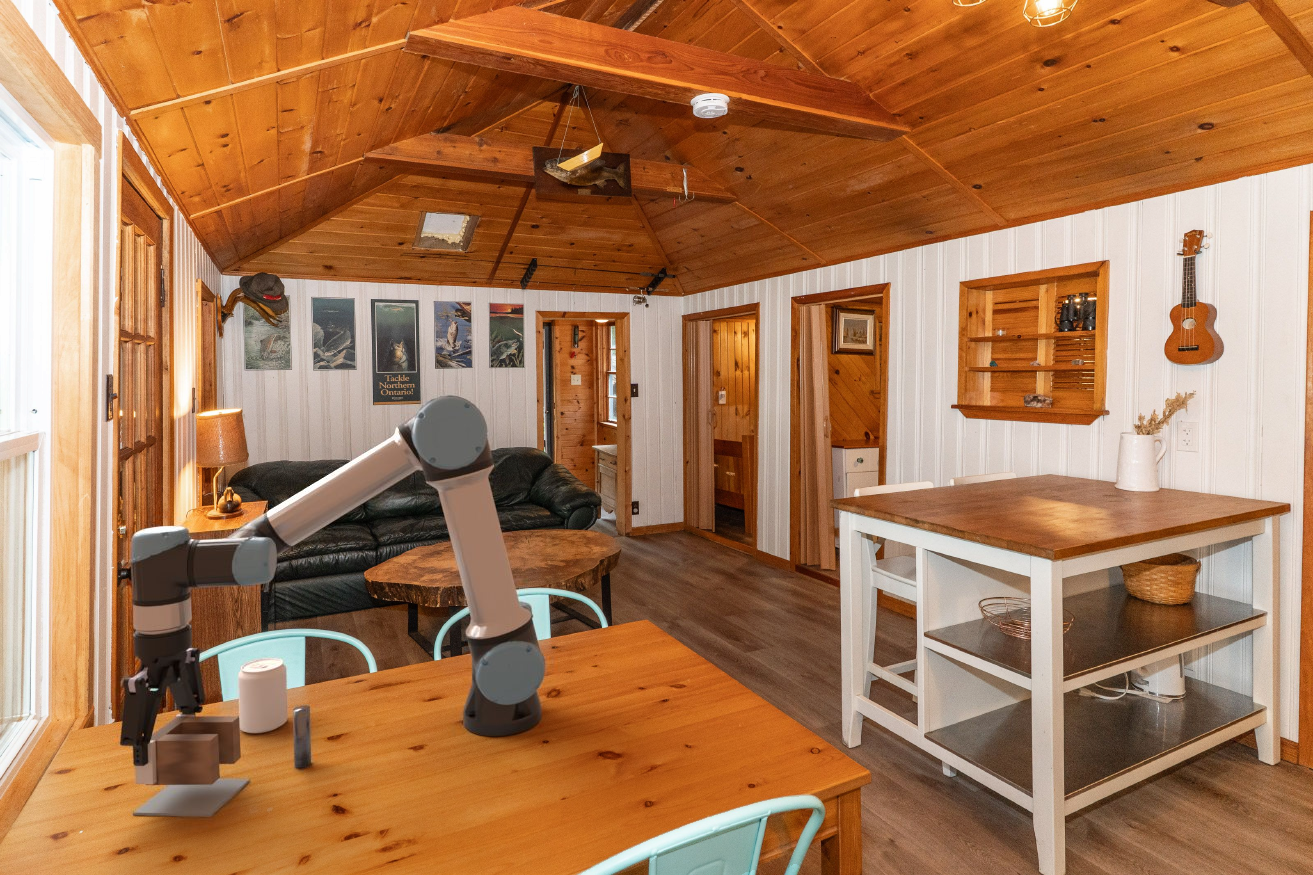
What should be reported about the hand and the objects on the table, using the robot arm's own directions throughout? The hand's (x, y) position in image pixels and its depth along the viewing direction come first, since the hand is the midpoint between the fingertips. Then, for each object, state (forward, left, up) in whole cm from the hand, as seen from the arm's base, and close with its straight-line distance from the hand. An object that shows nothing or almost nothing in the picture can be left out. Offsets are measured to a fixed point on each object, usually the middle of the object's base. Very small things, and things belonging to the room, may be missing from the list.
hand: (166, 767), depth 114 cm
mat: (-4, 0, -5) cm, 6 cm away
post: (-16, -11, -5) cm, 20 cm away
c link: (-4, 0, -1) cm, 4 cm away
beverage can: (-1, -25, -5) cm, 25 cm away
